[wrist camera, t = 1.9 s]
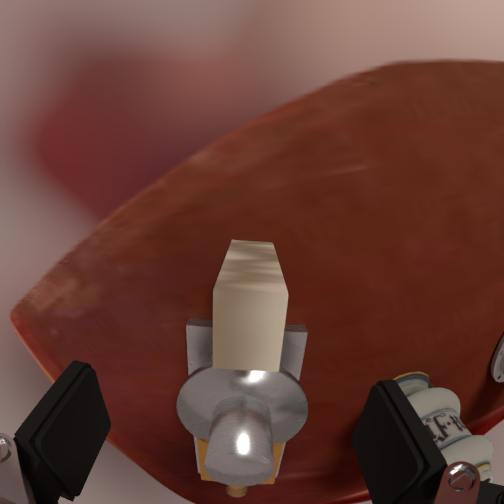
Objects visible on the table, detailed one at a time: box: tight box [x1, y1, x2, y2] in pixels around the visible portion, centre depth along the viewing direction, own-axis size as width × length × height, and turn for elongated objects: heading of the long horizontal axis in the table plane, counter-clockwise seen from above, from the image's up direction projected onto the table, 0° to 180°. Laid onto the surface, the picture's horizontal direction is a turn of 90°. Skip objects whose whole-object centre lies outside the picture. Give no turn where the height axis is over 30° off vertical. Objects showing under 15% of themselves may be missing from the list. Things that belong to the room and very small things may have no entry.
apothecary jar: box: [393, 372, 494, 483], centre depth 21 cm, size 12×12×18 cm
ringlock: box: [177, 318, 308, 497], centre depth 24 cm, size 11×25×13 cm, turn 176°
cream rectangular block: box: [213, 240, 288, 372], centre depth 20 cm, size 4×4×12 cm
